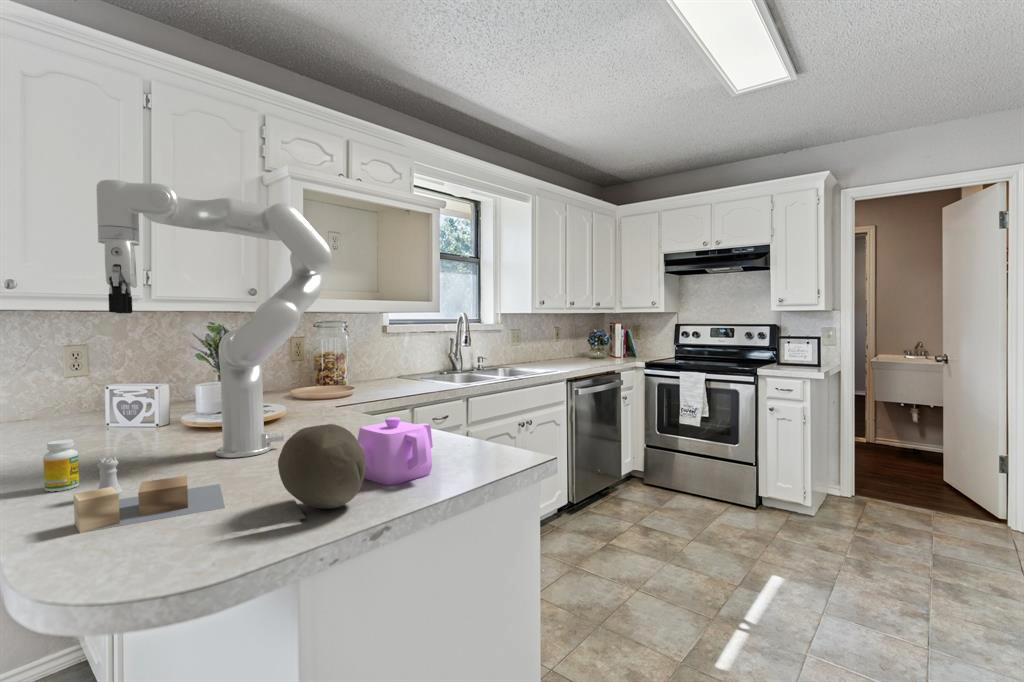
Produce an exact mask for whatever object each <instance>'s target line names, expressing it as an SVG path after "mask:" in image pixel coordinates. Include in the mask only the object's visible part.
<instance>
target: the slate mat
mask: <svg viewBox="0 0 1024 682" xmlns="http://www.w3.org/2000/svg"><path fill="white" fill-rule="evenodd" d="M225 508H226V506H225V501H224V497H223V492H222V488H221V484H220V483H217V484H210V485H204V486H197V487H191V488H188V508H184V509H178V510H172V511H166V512H160V513H155V514H149V515H143V516H139V499H138V495H137V496H133V497H126V498H119V518H120V524H116V525H112V526H107V527H103V528H99V529H95V530H90V531H86V532H82V533H80V532H79V531H78V534H83V533H88V532H95V531H100V530H101V531H102V530H106V529H112V528H117V527H125V526H128V525H133V524H134V525H135V524H140V523H145V522H151V521H157V520H163V519H169V518H174V517H182V516H186V515H192V514H196V513H197V514H198V513H203V512H208V511H214V510H219V509H220V510H221V509H225Z"/></svg>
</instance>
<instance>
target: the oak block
mask: <svg viewBox="0 0 1024 682" xmlns="http://www.w3.org/2000/svg"><path fill="white" fill-rule="evenodd" d="M119 499H120V496H119V493H118V492H117V491H116V490H115V489H114V488H113V487H108V488H103V489H98V488H97V489H93V490H88V491H83V492H78V493H73V514H74V516H73V517H74V526H75V527H76V529H77V531H78V533H79V532H80V533H79V534H83V533H82V532H84V533H87V532H86V531H90V530H95V529H99V528H103V527H107V526H112V525H116V524H120V518H119ZM95 531H96V530H95ZM90 532H91V531H90Z"/></svg>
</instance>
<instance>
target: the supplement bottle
mask: <svg viewBox="0 0 1024 682" xmlns="http://www.w3.org/2000/svg"><path fill="white" fill-rule="evenodd" d="M74 445H75V444H74V440H73V439H71V438H70V439H67V438H65V439H58V440H53V441H49V442H47V443H46V447H47V448H46V449H47V451H48V452H46V453H45V454H44V456H43V475H44V476H43V477H44V478H43V479H44V490H45V492H48V491H49V493H55V492H54V491H58V492H63V491H62V490H65V491H68V490H67V489H69V490H72V489H71V488H73V489H75V488H78V487H79V486H80V466H79V463H80V462H79V452H78V451H77V450H76V449H75V448H73V447H74ZM74 487H75V488H74Z"/></svg>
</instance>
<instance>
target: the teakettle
mask: <svg viewBox="0 0 1024 682" xmlns="http://www.w3.org/2000/svg"><path fill="white" fill-rule="evenodd" d="M384 421H385V422H381V423H375V424H370V425H364V426H361V427H360V428H359V429H358V430H359V431H358V435H357V438H356V439H357V441H358V443H359V445H360V447H361V448H362V451H363V453H364V456H365V465H366V466H365V473H364V479H366V480H368V481H370V482H374V483H377V484H381V485H387V486H395V485H398V484H402V483H405V482H409V481H413V480H416V479H419V478H424V477H426V476H429V475H430V474H431V471H432V467H433V459H432V458H433V457H432V448H434V447H433V438H432V437H433V436H432V426H431V424H429V423H425V422H424V423H418V424H417V423H411V422H406V421H401V417H397V416H396V417H395V416H394V417H393V416H391V417H386V418H385V419H384Z"/></svg>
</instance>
